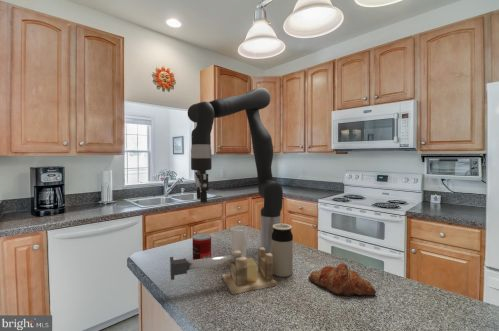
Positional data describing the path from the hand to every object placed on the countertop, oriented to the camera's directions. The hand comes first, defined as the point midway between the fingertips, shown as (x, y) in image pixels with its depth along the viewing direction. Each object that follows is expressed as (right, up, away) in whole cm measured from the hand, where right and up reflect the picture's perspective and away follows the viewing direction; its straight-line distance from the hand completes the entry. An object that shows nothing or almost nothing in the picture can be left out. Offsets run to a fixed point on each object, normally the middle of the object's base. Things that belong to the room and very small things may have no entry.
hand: (201, 200), depth 94 cm
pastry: (+49, -29, -8) cm, 57 cm away
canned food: (-2, -28, +13) cm, 31 cm away
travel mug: (+30, -28, +3) cm, 42 cm away
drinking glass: (+14, -28, +10) cm, 33 cm away
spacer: (+18, -24, -4) cm, 30 cm away
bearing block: (+18, -28, -4) cm, 33 cm away
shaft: (+3, -22, -10) cm, 24 cm away
